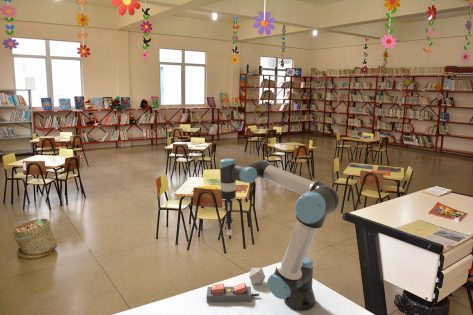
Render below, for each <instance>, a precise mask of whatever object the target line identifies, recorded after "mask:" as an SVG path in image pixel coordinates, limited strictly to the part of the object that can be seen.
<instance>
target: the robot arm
mask: <svg viewBox="0 0 473 315" xmlns="http://www.w3.org/2000/svg"><path fill="white" fill-rule="evenodd" d="M219 173H220V174H219V178H220V180H219V181H220V183H219V184H218V185H219V186H220V198H221V199H222V200H224V210H225V212H226V215H225V216H226V217H225V220H226V221H225V222H224V223H225V224H226V226H225V228H226V236H232V235H233V226H232V225H233V224H232V222H233V221H234V219H232V211H233V200H234V199H236V197H237V192H236V189H237V186H236V185H237V182H236V181H238V182H243V183H245V184H246V183H248V184H252V183H254V182H255V181H256V179H257V178H261V179H263V180H266V181H269V182H271V183H273V184H275V185H278V186H280V187H283V188H285V189H287V190H290V191H292V192H295V194H298V195H301V196H299V197H298V199H297V200H296V202H295V206H294V210H295V218H296V220H297V222H296V224H295V227H294V230H293V232H292V235H291V238H290V241H289V243H288V246H287V248H286V251H285V254H284V256H283V259H282V261H279V262H278V263H277V265H276V268H275V270H274V272H273V274H270V276H268V278H267V287H268V289H269V291H270V293H271V294H272V295H273V296H274V297H275V298H276V299H280V300H283V302H284V304H285V305H286V307H287V306H288V307H289V308H291V309H292V310H296V311H307V310H310V309H312V308H314V306H316V295H315V292H314V289H313V277H314V274H313V273H314V261H313V260H312V259H311V258H310V257H308V256H307V255H308V252H309V250H310V247H311V246H312V245H311V244H312V242H313V240H314V237H315V235H316V233H317V230H319V229H321V228H322V227H323V226H324V223H325V221H326V218H327V216H328V215H330V214H332V213H333V212H335V211H336V209H337V208H338V207H339V205H340V196H339V194H338V191H337V189H335V188H334V187H332V186H331V185H329V184H327V183H324V182H322V181H319V180H316V181H312V180H311V179H307V178H306V177H302V176H300V175H297V174H295V173H292V172H289V171H287V170H284V169H281V168H280V167H277V166H274V165H272V164H271V163H270V162H269V161H268V160H258V161H256V162H252V163H248V164H245V165H239V164H237V163H236V159H234V158H224V159H221V160H220V161H219Z"/></svg>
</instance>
